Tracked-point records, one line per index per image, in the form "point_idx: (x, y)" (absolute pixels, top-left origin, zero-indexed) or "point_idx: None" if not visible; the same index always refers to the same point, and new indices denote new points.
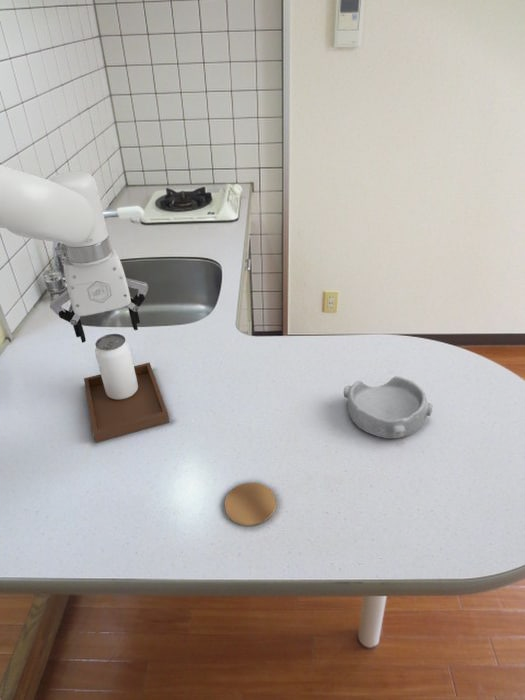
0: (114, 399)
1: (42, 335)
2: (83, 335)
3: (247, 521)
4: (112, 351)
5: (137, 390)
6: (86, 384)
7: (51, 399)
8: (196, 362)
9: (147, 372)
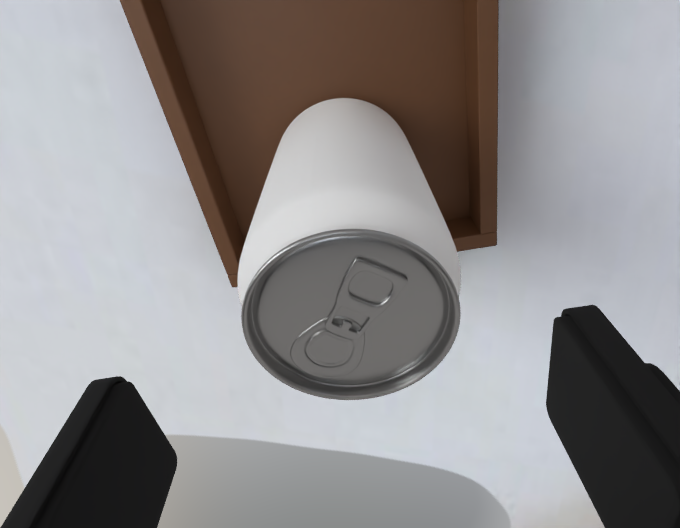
0: None
1: None
2: (599, 361)
3: None
4: (333, 224)
5: None
6: (490, 202)
7: (621, 181)
8: (73, 278)
9: None
